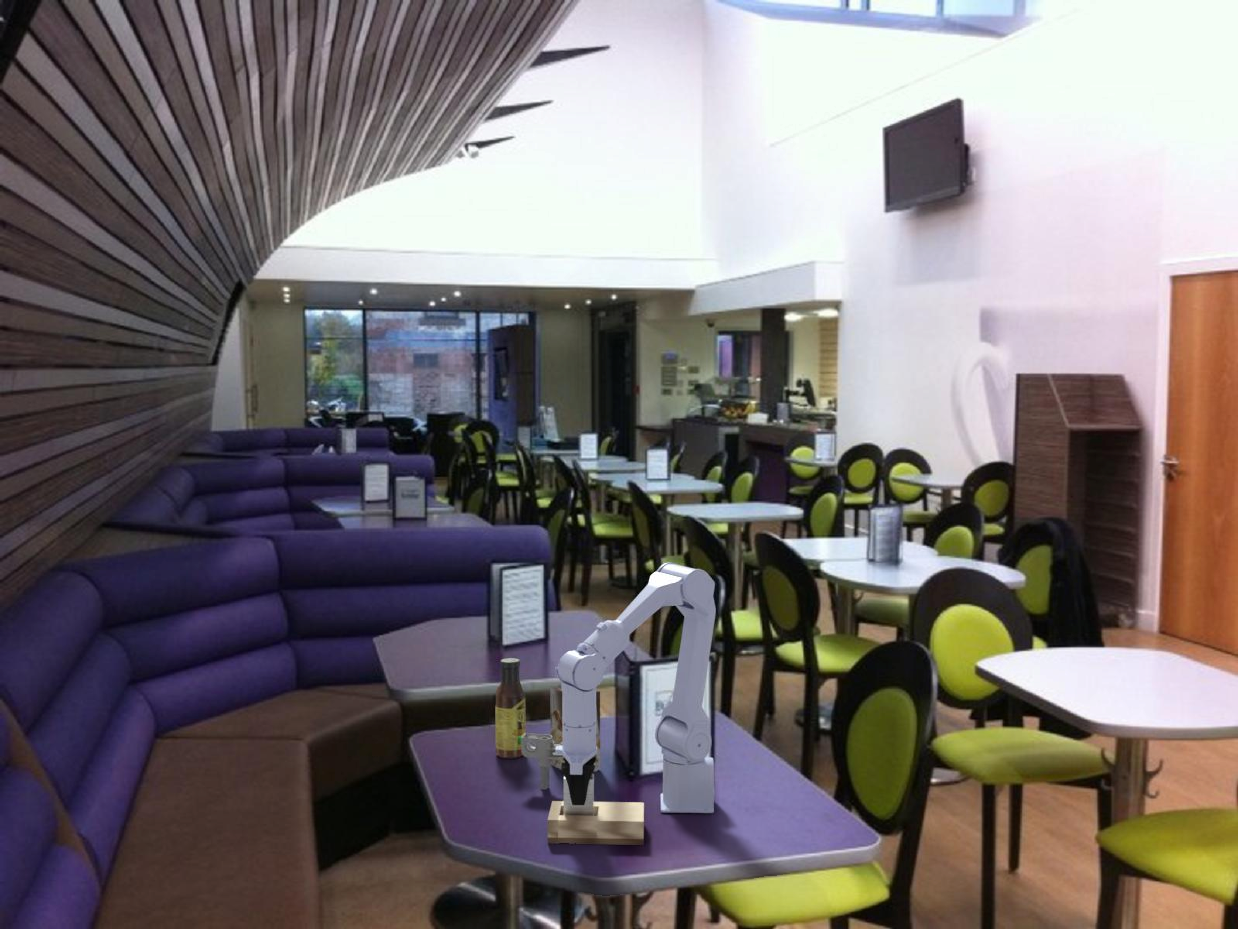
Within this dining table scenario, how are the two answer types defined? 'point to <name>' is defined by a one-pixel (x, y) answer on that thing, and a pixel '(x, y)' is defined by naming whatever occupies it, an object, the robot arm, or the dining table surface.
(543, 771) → the mechanical component
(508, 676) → the sauce bottle
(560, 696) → the coffee box
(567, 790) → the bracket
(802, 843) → the dining table surface
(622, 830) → the slotted wooden block
